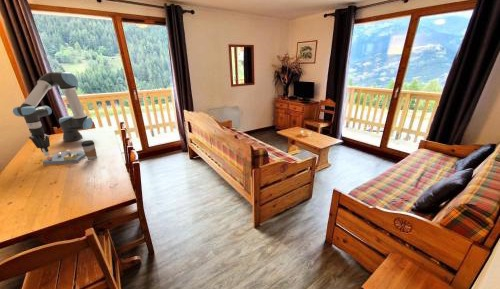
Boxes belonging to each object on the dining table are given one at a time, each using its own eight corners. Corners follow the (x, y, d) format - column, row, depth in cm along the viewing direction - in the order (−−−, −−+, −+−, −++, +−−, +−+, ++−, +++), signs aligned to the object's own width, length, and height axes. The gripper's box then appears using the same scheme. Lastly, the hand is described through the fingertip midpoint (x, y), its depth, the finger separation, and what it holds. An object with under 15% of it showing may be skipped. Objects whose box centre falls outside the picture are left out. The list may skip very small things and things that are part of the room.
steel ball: (59, 155, 169) (57, 152, 168) (63, 155, 169) (62, 151, 168) (56, 157, 166) (55, 153, 165) (60, 157, 166) (59, 153, 165)
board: (58, 155, 175) (57, 152, 174) (89, 153, 179) (89, 150, 178) (43, 164, 160) (42, 161, 159) (78, 162, 163) (77, 159, 162)
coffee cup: (92, 161, 165) (86, 144, 159) (83, 160, 166) (77, 143, 160) (101, 157, 172) (96, 140, 166) (92, 156, 174) (87, 139, 168)
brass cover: (69, 157, 166) (67, 153, 164) (77, 157, 166) (76, 152, 165) (64, 160, 160) (62, 156, 159) (73, 160, 161) (71, 155, 159)
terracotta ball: (49, 159, 163) (48, 155, 162) (54, 159, 163) (52, 155, 162) (46, 161, 160) (45, 157, 159) (51, 160, 161) (49, 157, 159)
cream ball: (68, 152, 175) (66, 149, 174) (72, 152, 175) (71, 148, 174) (65, 154, 172) (64, 150, 171) (69, 153, 172) (68, 150, 171)
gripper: (21, 129, 153) (34, 158, 162) (41, 128, 154) (52, 157, 163) (29, 126, 159) (41, 154, 168) (48, 125, 161) (59, 153, 170)
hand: (47, 155), depth 166 cm, fingers closed
